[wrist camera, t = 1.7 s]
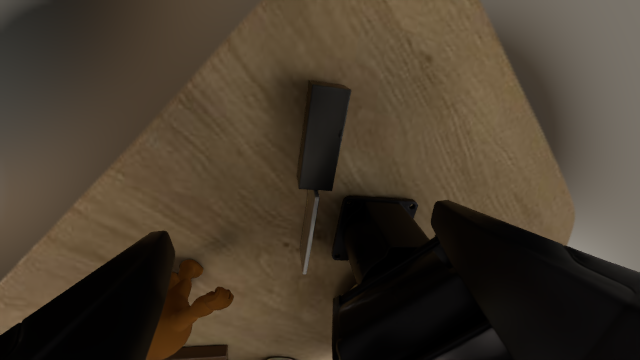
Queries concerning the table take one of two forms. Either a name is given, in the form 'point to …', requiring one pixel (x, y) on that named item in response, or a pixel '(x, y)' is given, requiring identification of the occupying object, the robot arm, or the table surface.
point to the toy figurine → (183, 311)
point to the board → (201, 353)
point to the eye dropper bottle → (279, 359)
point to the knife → (319, 150)
